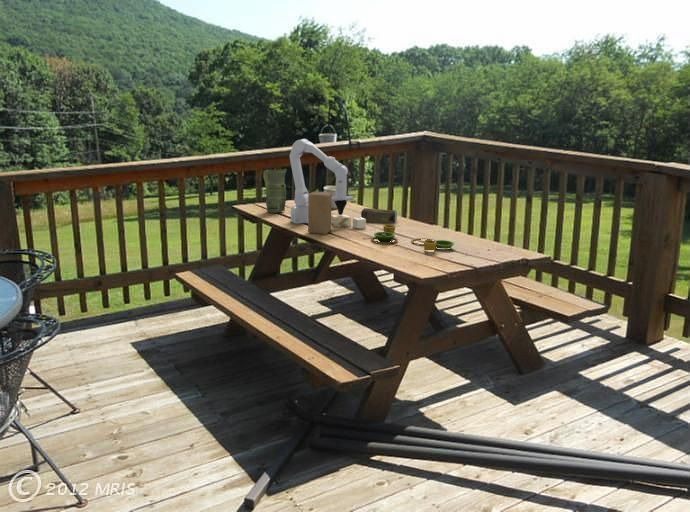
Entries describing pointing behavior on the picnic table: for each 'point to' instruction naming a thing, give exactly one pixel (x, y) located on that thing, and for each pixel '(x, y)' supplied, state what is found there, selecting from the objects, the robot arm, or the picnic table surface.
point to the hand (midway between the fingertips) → (340, 214)
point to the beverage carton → (379, 215)
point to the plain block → (340, 220)
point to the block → (319, 212)
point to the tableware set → (428, 244)
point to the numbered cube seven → (359, 222)
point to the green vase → (275, 190)
